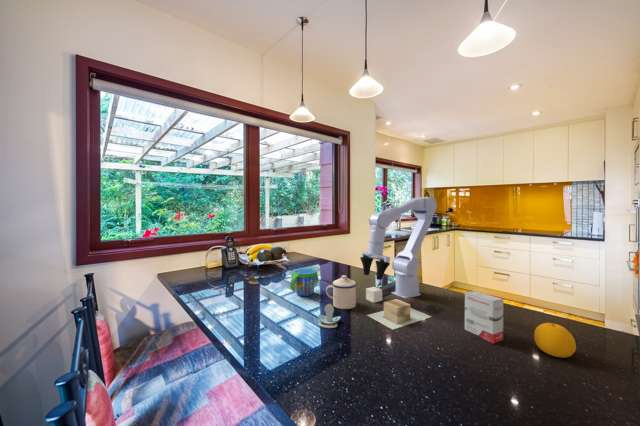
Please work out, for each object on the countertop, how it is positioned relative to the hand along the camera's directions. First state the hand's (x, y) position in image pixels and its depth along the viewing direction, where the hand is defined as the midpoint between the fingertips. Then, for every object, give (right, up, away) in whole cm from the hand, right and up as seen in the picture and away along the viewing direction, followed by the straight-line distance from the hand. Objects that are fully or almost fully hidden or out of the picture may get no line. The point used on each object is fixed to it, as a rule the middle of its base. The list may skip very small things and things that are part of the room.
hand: (372, 277), depth 102 cm
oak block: (+5, -10, -17) cm, 20 cm away
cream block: (+1, -10, +1) cm, 10 cm away
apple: (+39, -10, -37) cm, 54 cm away
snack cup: (-27, -10, +10) cm, 31 cm away
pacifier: (-18, -11, -19) cm, 29 cm away
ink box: (+27, -10, -27) cm, 39 cm away
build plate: (+6, -10, -15) cm, 19 cm away
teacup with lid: (-13, -10, -4) cm, 17 cm away
